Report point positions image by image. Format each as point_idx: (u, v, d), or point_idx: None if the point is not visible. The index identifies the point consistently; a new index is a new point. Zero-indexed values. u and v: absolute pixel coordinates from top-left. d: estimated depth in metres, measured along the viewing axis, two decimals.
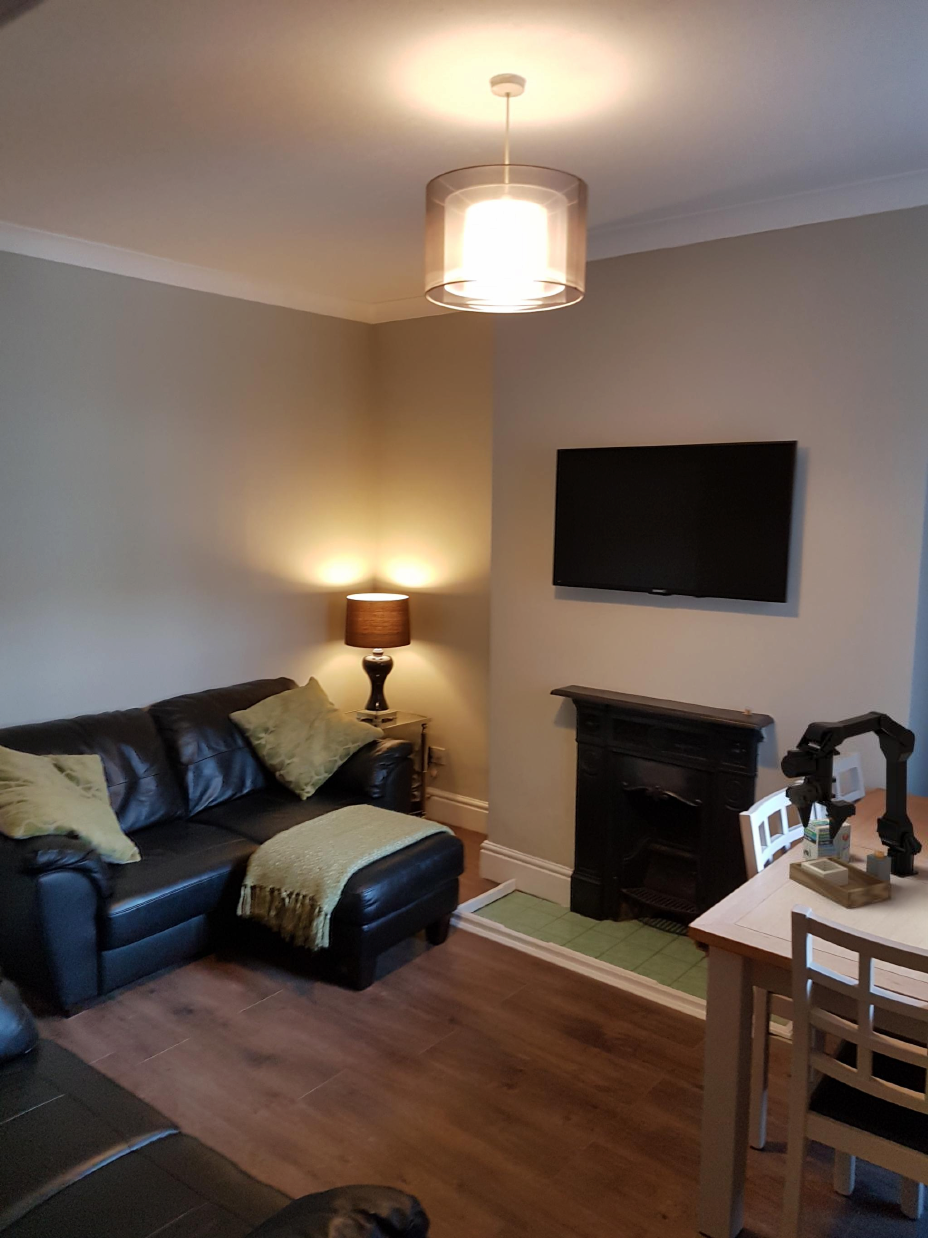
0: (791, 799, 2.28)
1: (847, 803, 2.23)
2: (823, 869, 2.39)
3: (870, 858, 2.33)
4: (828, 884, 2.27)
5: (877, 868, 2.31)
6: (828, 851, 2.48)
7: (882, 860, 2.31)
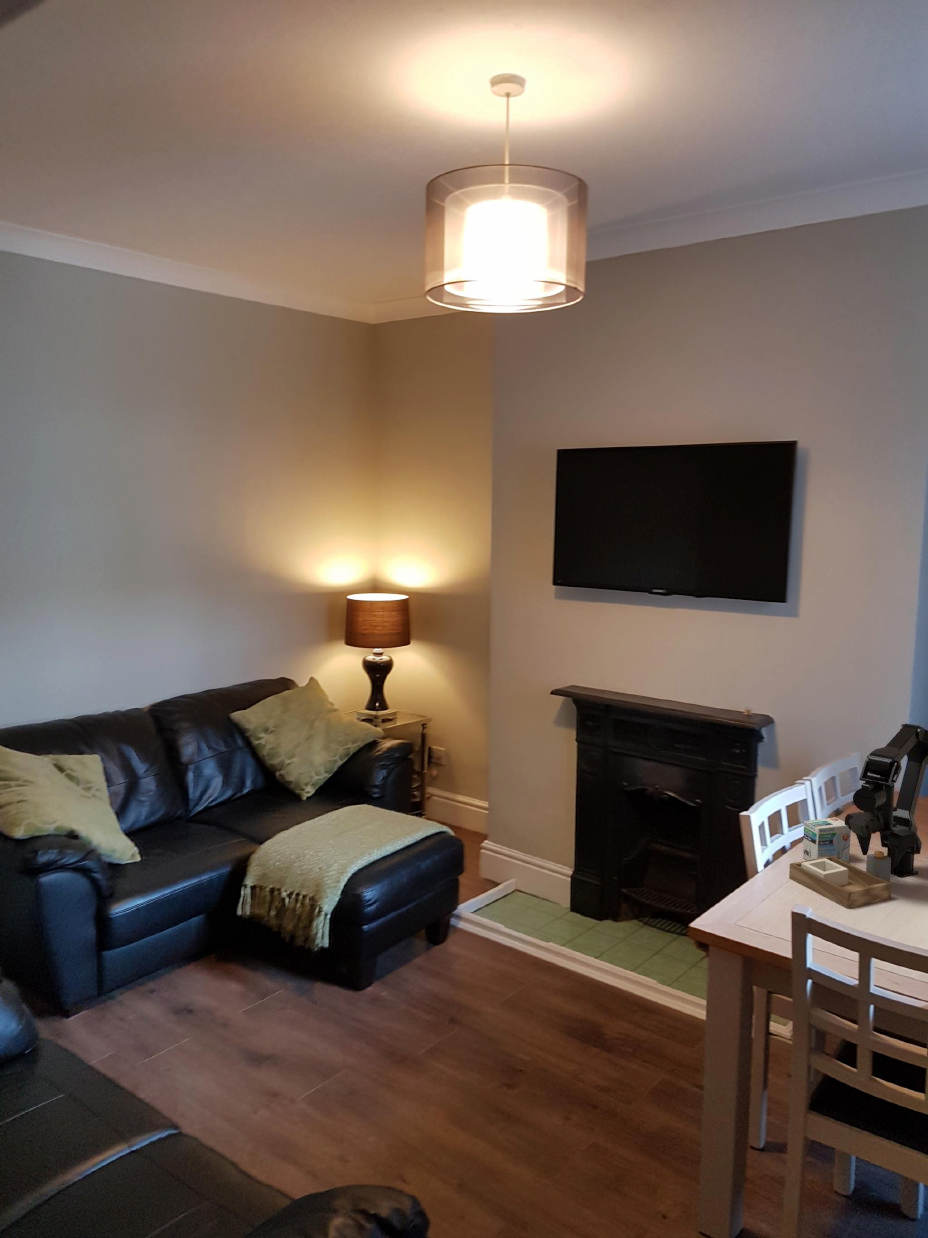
0: (852, 828, 2.30)
1: (909, 832, 2.25)
2: (823, 869, 2.39)
3: (870, 858, 2.33)
4: (828, 884, 2.27)
5: (876, 868, 2.31)
6: (828, 851, 2.48)
7: (882, 860, 2.31)
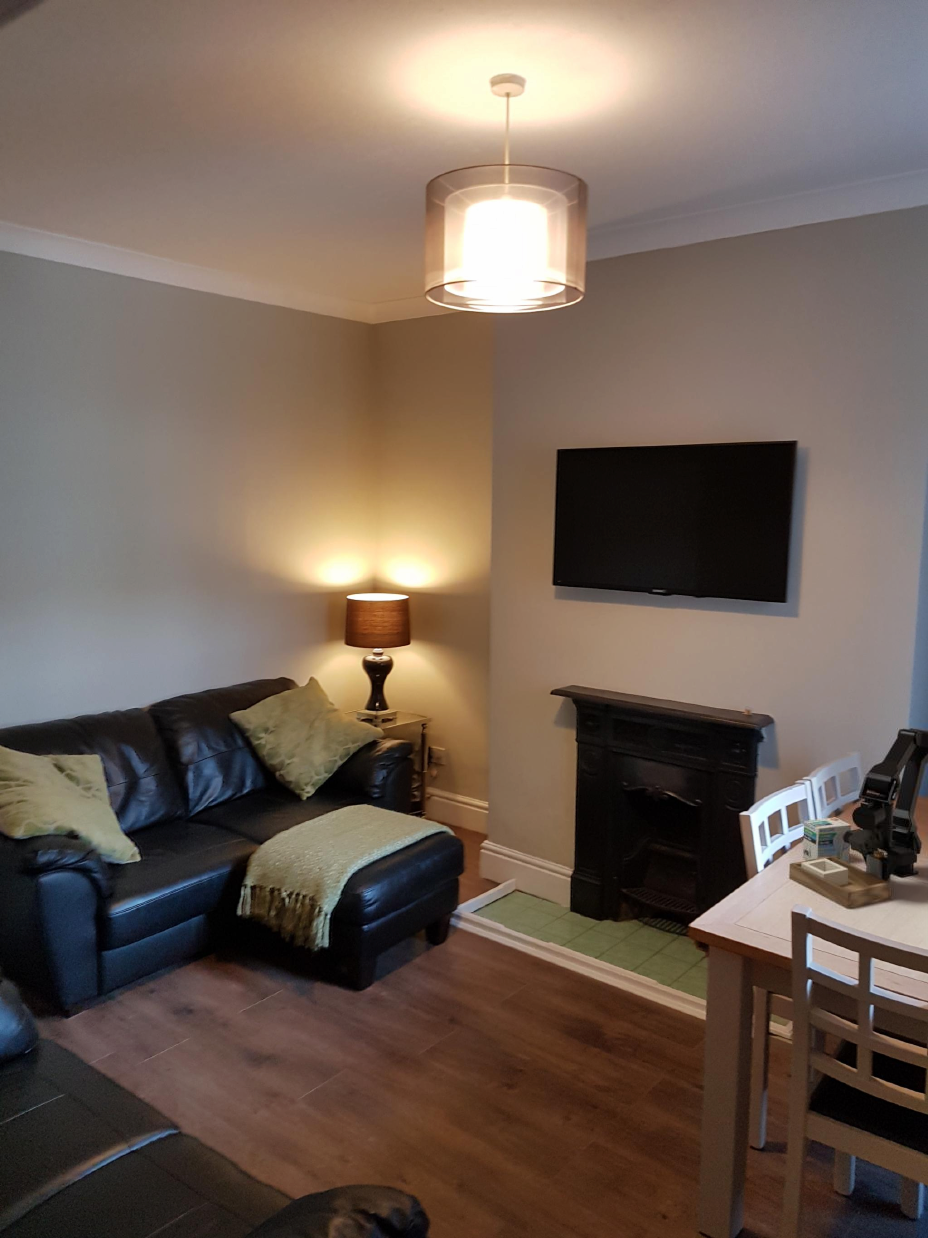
0: (852, 846, 2.31)
1: (908, 851, 2.25)
2: (823, 869, 2.39)
3: (870, 858, 2.33)
4: (828, 884, 2.27)
5: (876, 868, 2.31)
6: (828, 851, 2.48)
7: None
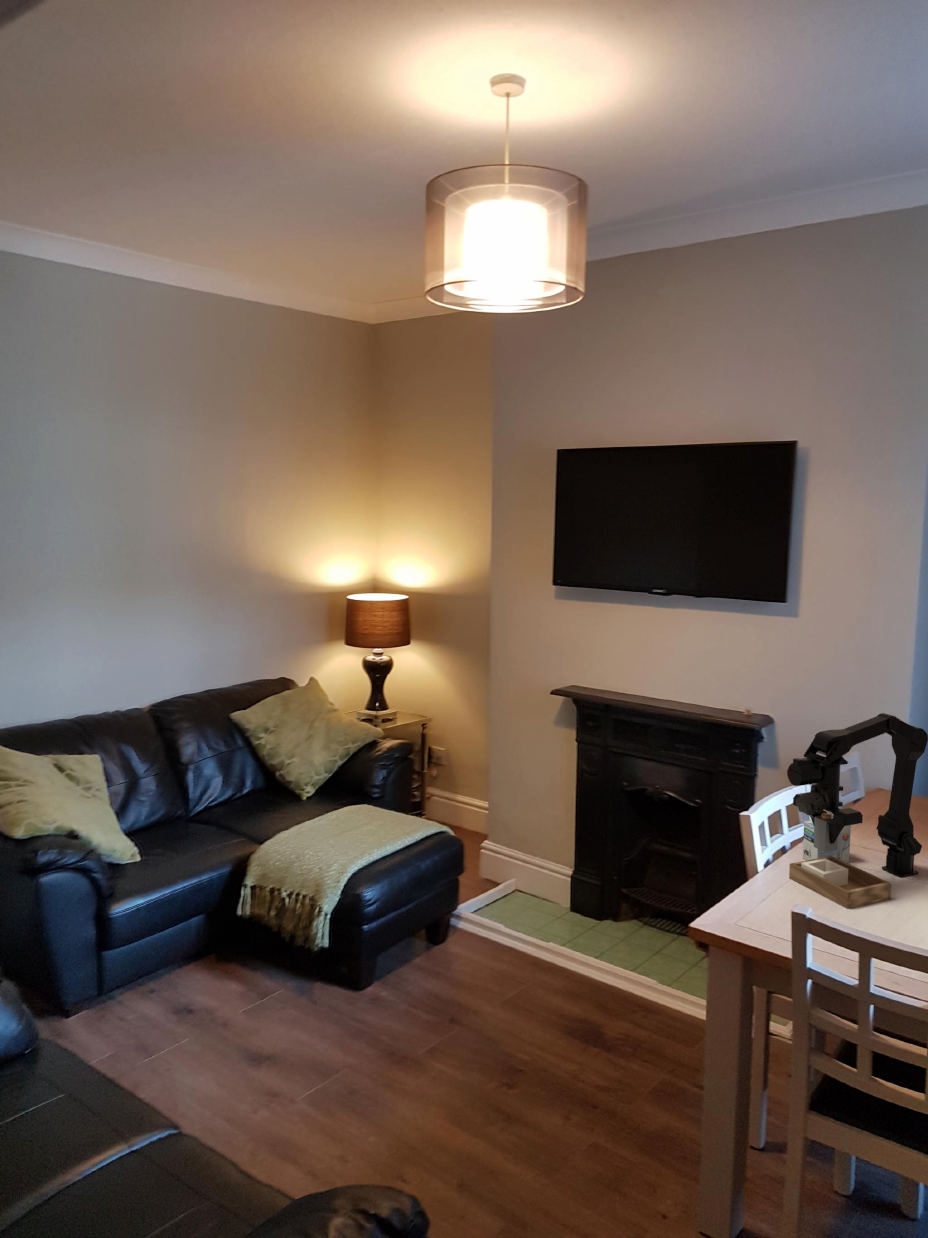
0: (799, 807, 2.32)
1: (854, 811, 2.27)
2: (823, 869, 2.39)
3: (817, 820, 2.34)
4: (828, 884, 2.27)
5: (824, 829, 2.32)
6: (828, 851, 2.48)
7: None
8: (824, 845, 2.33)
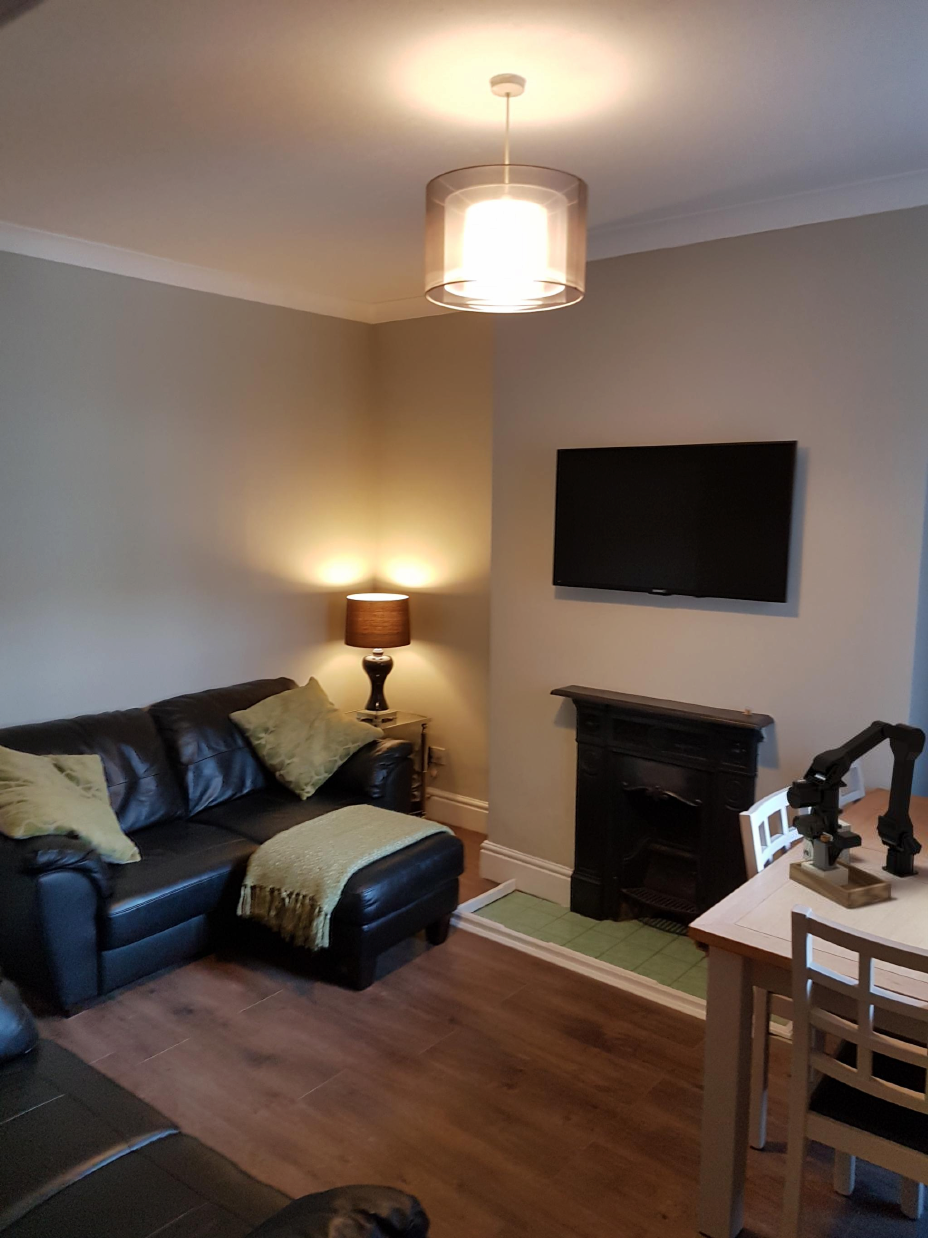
0: (798, 830, 2.33)
1: (853, 834, 2.27)
2: None
3: (816, 842, 2.35)
4: (828, 884, 2.27)
5: (823, 852, 2.33)
6: None
7: None
8: (823, 867, 2.33)
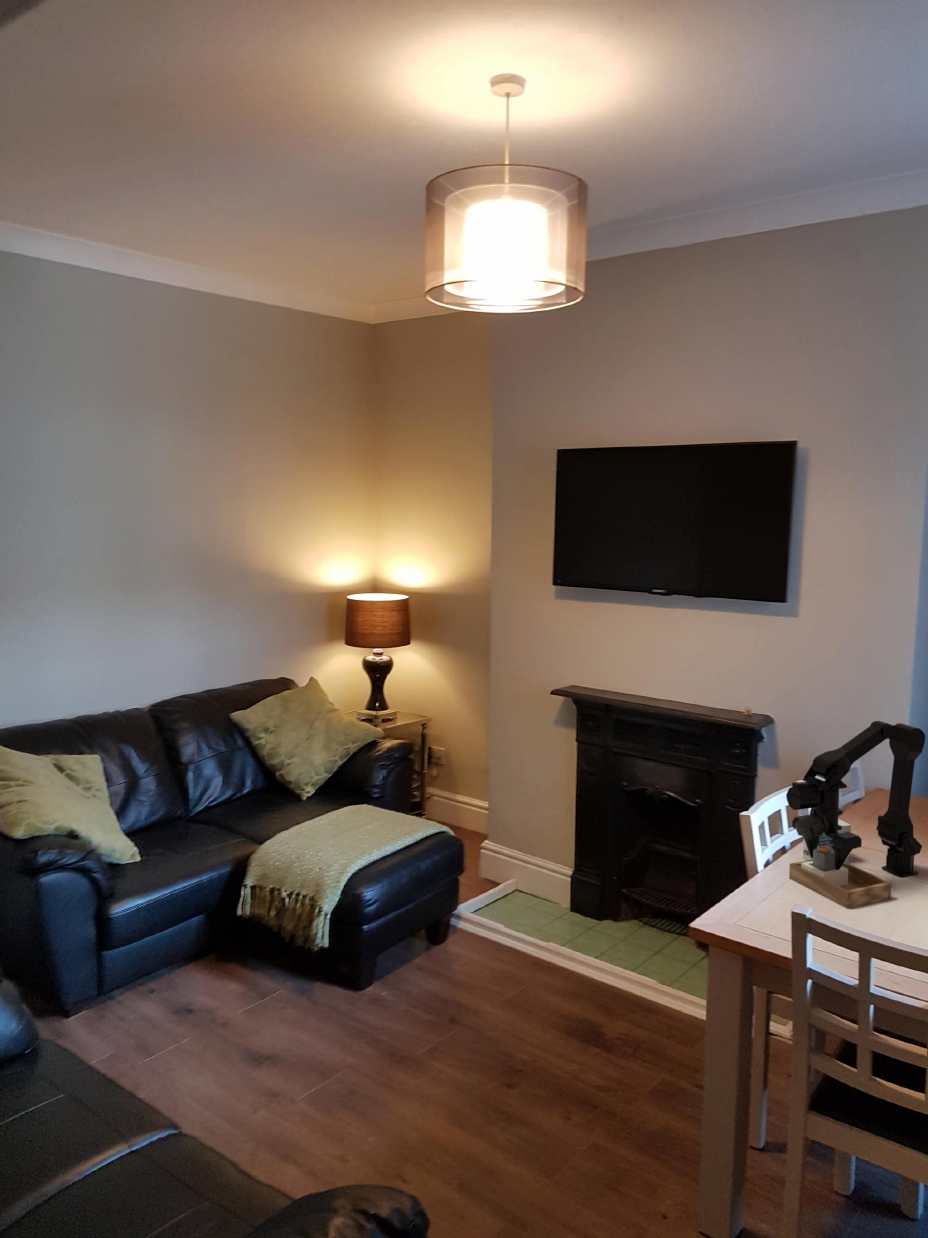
0: (798, 831, 2.33)
1: (853, 835, 2.27)
2: None
3: (816, 853, 2.35)
4: (828, 884, 2.27)
5: (822, 862, 2.33)
6: None
7: (828, 855, 2.33)
8: None
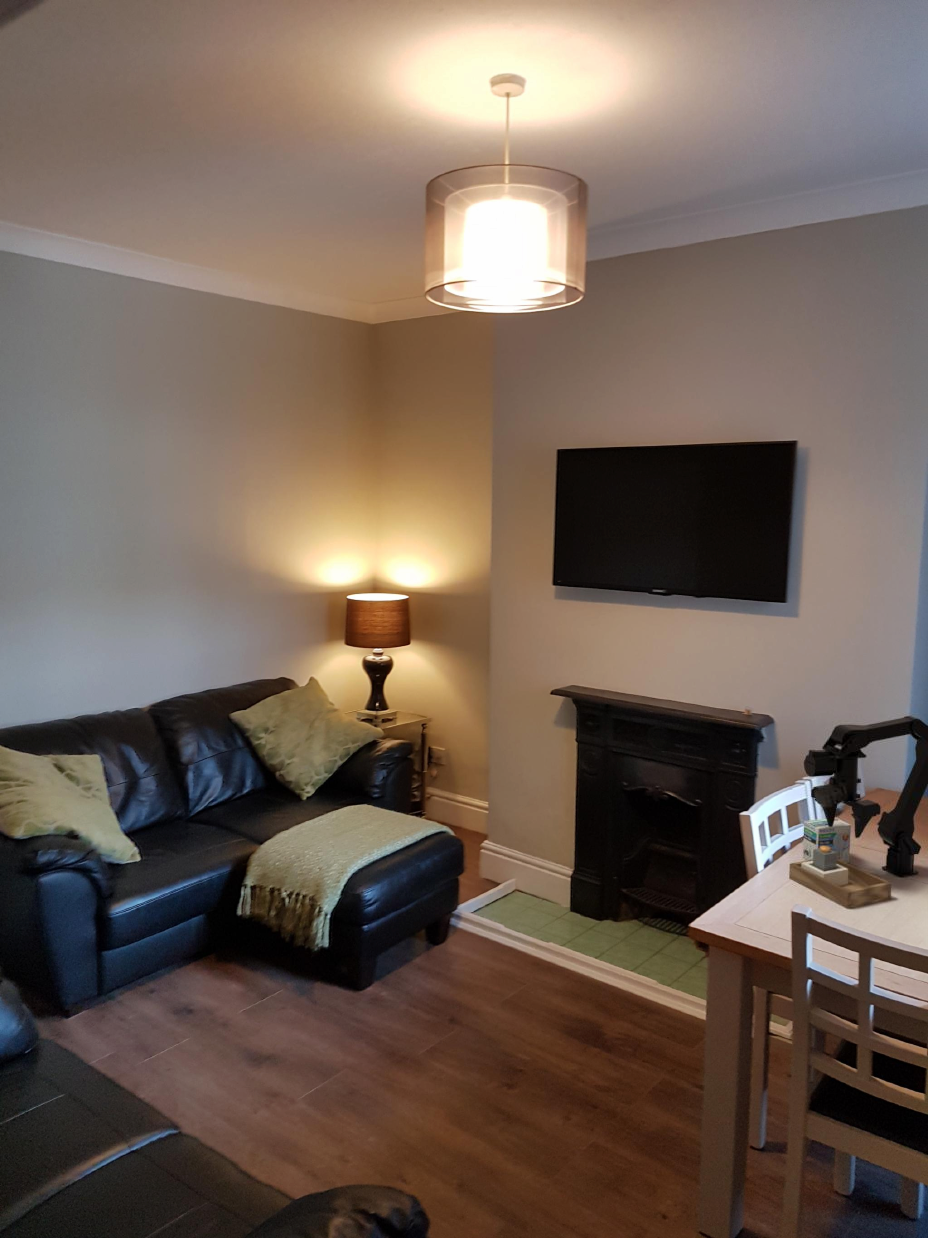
0: (817, 799, 2.37)
1: (872, 803, 2.31)
2: None
3: (816, 853, 2.35)
4: (828, 884, 2.27)
5: (822, 862, 2.33)
6: None
7: (828, 855, 2.33)
8: None
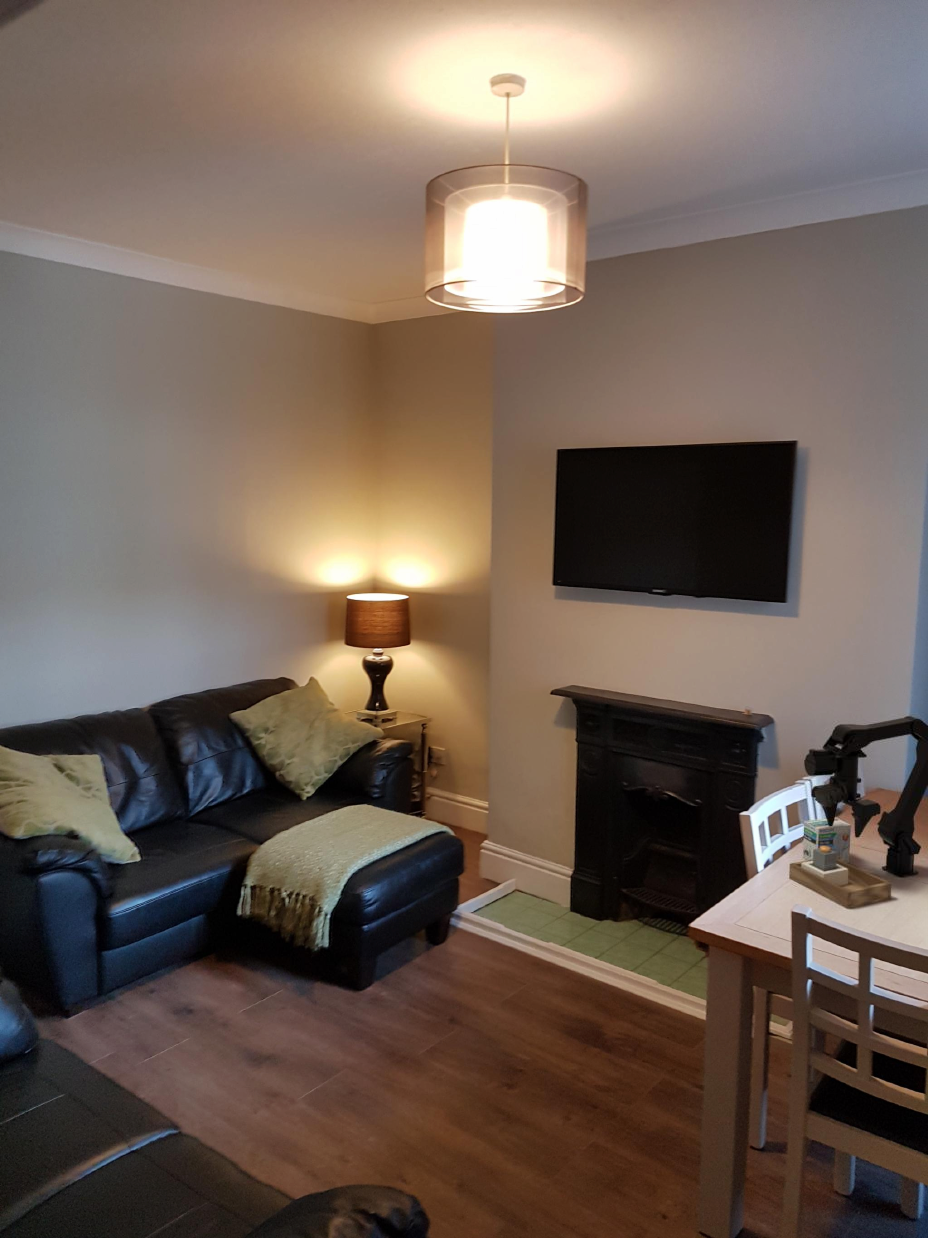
0: (818, 798, 2.37)
1: (872, 802, 2.31)
2: None
3: (816, 853, 2.35)
4: (828, 884, 2.27)
5: (822, 862, 2.33)
6: None
7: (828, 855, 2.33)
8: None
